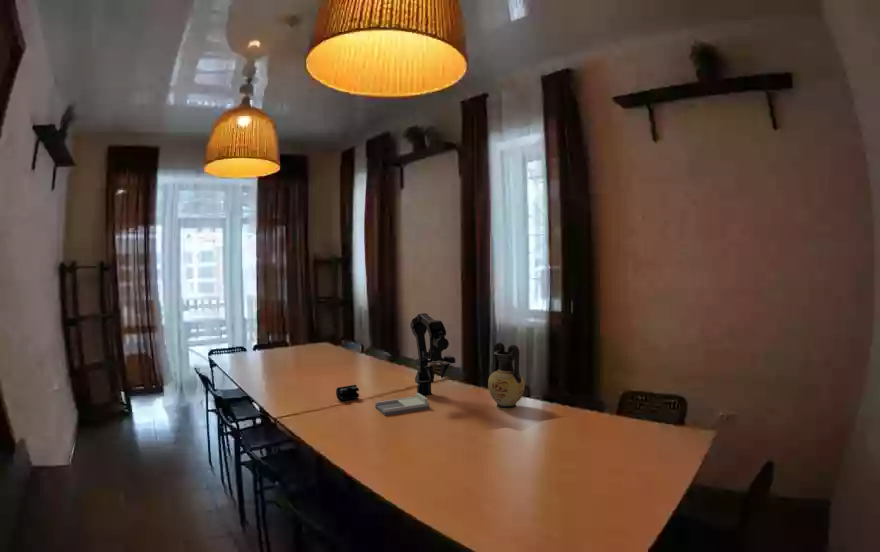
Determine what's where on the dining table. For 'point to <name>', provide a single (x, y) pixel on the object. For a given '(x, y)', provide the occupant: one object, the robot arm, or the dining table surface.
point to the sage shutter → (413, 400)
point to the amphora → (506, 377)
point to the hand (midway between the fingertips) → (436, 378)
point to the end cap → (347, 393)
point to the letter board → (398, 407)
